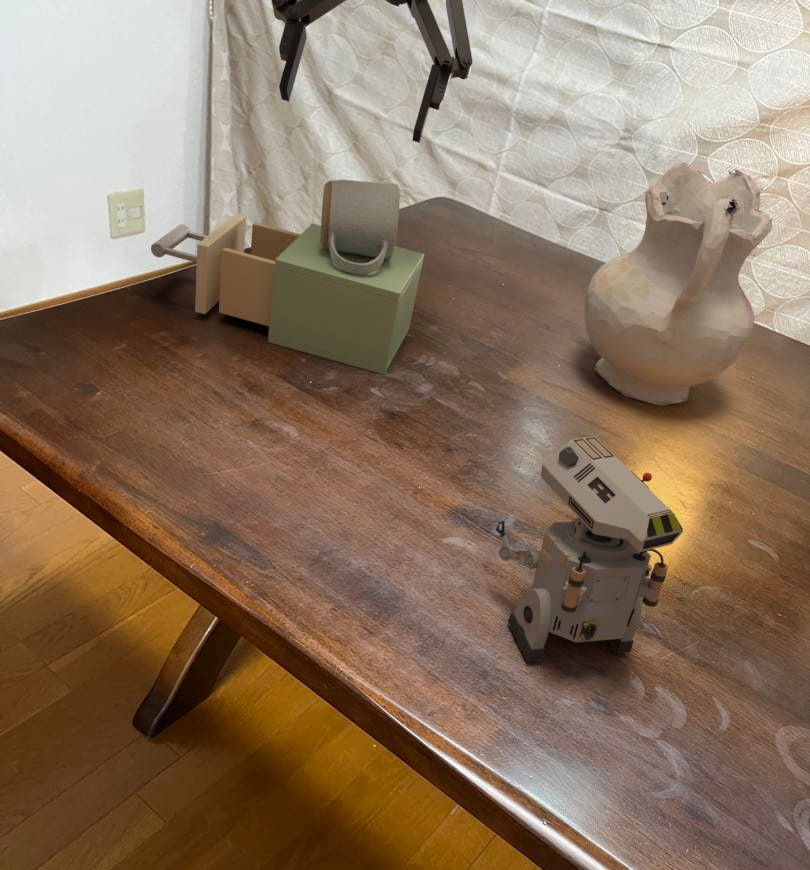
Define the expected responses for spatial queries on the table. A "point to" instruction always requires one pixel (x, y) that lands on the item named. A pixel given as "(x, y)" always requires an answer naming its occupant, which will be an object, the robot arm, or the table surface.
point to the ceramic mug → (360, 222)
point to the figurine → (592, 553)
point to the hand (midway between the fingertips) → (350, 115)
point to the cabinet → (342, 303)
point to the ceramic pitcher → (678, 288)
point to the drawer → (232, 266)
